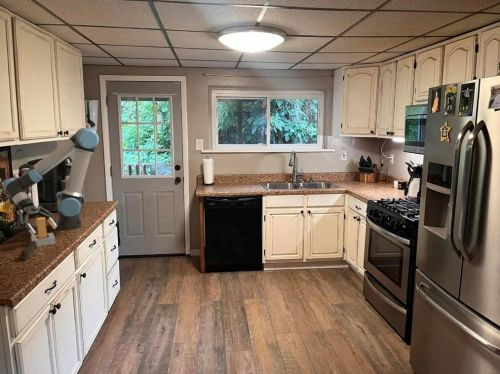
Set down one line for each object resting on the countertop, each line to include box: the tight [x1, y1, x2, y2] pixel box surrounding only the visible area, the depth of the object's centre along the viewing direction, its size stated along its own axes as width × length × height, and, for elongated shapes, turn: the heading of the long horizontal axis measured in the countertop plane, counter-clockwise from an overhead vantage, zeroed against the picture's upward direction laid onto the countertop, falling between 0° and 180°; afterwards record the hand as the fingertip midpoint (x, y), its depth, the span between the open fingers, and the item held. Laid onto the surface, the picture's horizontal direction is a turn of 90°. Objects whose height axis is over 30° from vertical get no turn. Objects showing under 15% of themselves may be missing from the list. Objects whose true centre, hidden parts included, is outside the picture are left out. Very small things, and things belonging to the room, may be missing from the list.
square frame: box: [30, 232, 56, 247], centre depth 210 cm, size 11×11×4 cm
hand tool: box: [22, 242, 38, 261], centre depth 191 cm, size 19×4×5 cm, turn 17°
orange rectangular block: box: [36, 217, 48, 239], centre depth 209 cm, size 4×4×14 cm
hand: (45, 230), depth 208 cm, fingers open, 13 cm apart
